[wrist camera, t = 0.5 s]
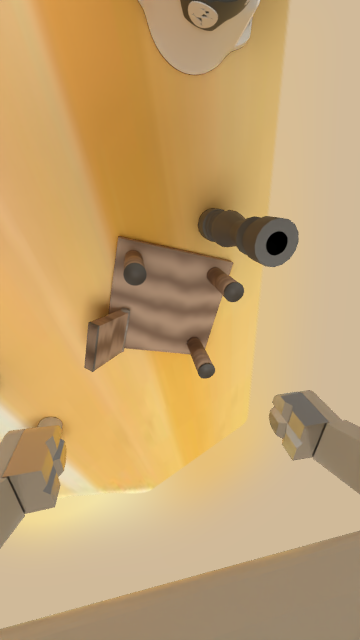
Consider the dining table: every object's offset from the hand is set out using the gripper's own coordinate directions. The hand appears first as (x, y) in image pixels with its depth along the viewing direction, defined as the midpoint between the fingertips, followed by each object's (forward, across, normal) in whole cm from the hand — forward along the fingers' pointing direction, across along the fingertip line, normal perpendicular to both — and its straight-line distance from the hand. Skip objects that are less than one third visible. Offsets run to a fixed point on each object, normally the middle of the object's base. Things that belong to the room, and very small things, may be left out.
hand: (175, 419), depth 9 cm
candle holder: (+46, -16, -4) cm, 48 cm away
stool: (+46, -6, +13) cm, 48 cm away
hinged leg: (+42, +4, +18) cm, 46 cm away
